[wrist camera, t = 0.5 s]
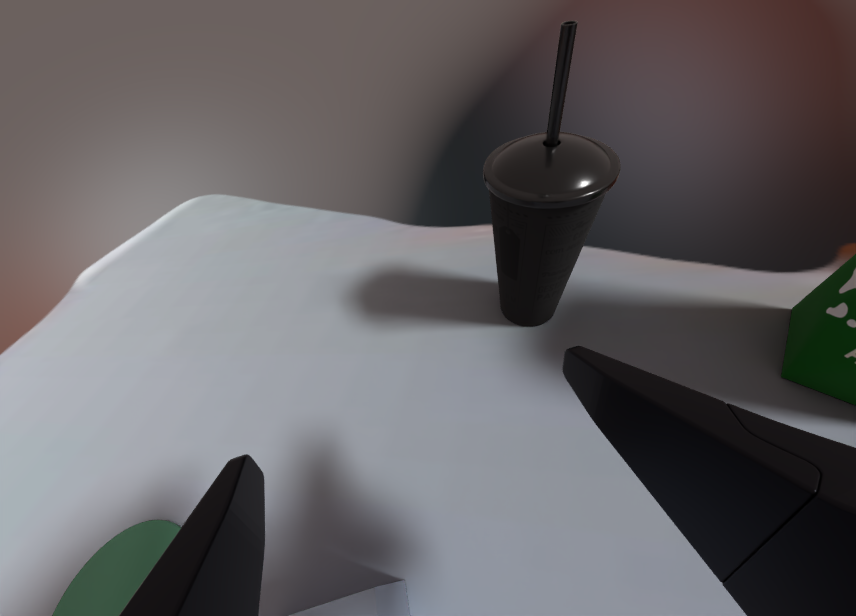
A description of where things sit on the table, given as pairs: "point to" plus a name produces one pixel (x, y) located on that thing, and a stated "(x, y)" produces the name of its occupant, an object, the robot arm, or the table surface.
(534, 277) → the drinking cup
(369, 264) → the table surface
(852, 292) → the milk carton
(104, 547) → the disc
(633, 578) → the table surface
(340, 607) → the grey block
